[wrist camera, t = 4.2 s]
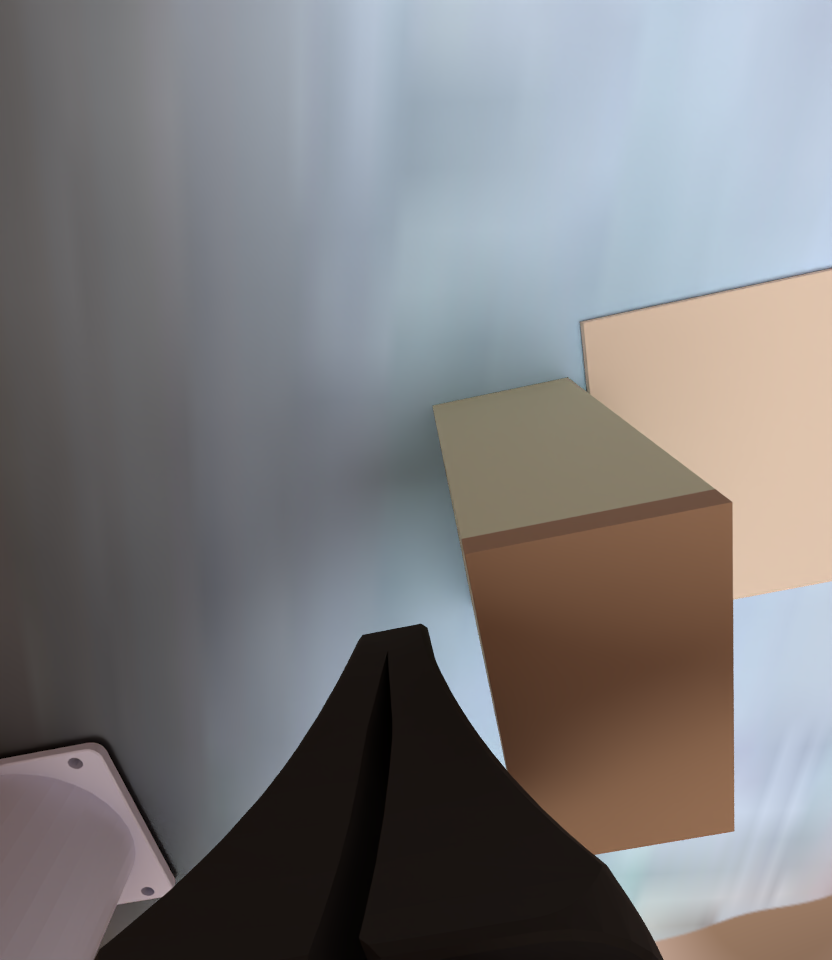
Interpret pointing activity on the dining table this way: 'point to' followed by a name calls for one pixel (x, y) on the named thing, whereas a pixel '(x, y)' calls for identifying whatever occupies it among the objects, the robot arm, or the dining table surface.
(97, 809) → the robot arm
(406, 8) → the dining table surface
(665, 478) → the sage block
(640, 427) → the mat
